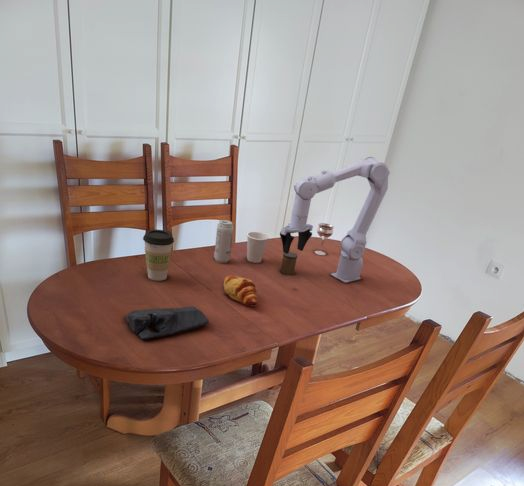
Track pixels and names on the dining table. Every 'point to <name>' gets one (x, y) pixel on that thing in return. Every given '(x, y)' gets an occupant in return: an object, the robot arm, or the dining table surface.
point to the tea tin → (288, 263)
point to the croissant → (241, 290)
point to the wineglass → (324, 234)
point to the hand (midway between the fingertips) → (292, 251)
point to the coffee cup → (158, 253)
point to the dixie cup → (256, 246)
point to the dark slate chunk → (165, 321)
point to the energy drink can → (223, 241)
